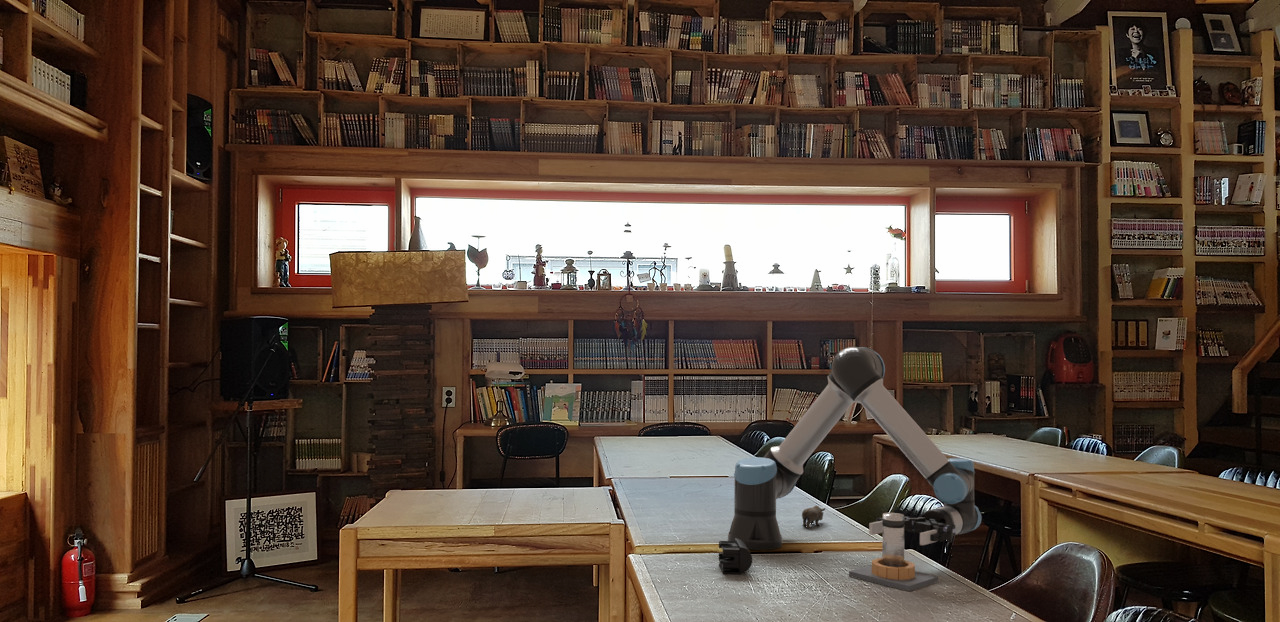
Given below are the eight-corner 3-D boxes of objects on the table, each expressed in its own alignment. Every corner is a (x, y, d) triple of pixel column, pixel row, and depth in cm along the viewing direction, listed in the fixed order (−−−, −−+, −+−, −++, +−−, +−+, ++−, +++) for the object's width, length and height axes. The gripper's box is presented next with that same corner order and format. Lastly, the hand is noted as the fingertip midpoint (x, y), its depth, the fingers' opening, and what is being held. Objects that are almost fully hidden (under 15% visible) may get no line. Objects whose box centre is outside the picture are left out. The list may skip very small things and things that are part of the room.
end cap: (752, 575, 194) (752, 547, 195) (723, 575, 194) (723, 546, 195) (746, 565, 204) (746, 538, 205) (718, 564, 204) (718, 537, 205)
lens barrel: (877, 573, 194) (877, 514, 194) (889, 569, 197) (889, 511, 198) (897, 578, 190) (897, 517, 191) (908, 574, 193) (909, 515, 194)
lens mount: (848, 576, 195) (848, 560, 195) (878, 567, 204) (878, 552, 204) (909, 591, 183) (909, 574, 183) (938, 581, 192) (938, 565, 192)
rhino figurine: (829, 522, 259) (829, 503, 259) (810, 529, 248) (811, 509, 248) (817, 521, 261) (818, 502, 262) (798, 527, 250) (798, 508, 251)
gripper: (988, 547, 198) (944, 560, 184) (897, 529, 217) (850, 540, 203) (988, 516, 198) (944, 527, 185) (897, 501, 217) (851, 510, 203)
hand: (895, 534), depth 194 cm, fingers open, 13 cm apart
